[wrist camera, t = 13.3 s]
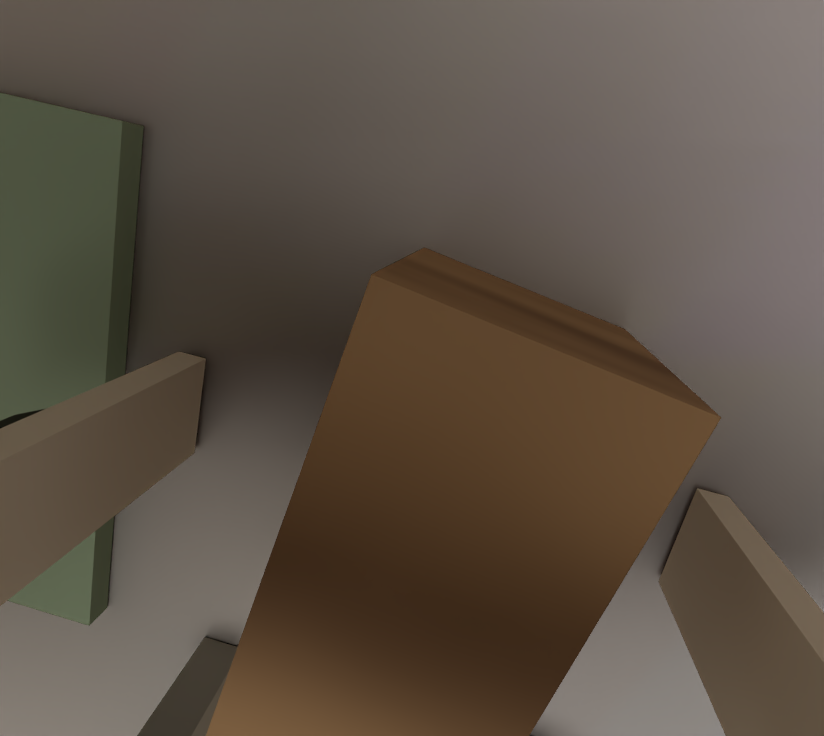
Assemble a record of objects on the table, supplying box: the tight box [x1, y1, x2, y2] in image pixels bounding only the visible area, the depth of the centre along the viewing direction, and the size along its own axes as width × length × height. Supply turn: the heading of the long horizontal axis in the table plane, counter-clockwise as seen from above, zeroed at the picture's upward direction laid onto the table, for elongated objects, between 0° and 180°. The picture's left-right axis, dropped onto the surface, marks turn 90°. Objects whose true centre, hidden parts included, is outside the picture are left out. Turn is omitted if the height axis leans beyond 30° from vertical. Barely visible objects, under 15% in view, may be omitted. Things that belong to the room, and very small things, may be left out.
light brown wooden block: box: [206, 248, 721, 736], centre depth 12 cm, size 10×5×6 cm, turn 159°
